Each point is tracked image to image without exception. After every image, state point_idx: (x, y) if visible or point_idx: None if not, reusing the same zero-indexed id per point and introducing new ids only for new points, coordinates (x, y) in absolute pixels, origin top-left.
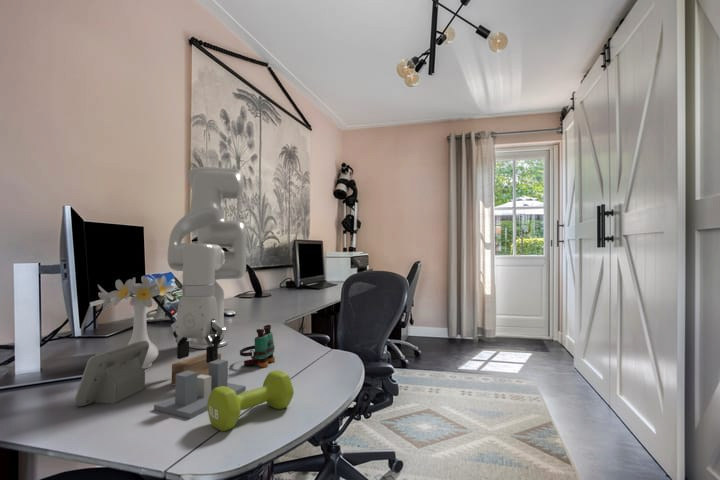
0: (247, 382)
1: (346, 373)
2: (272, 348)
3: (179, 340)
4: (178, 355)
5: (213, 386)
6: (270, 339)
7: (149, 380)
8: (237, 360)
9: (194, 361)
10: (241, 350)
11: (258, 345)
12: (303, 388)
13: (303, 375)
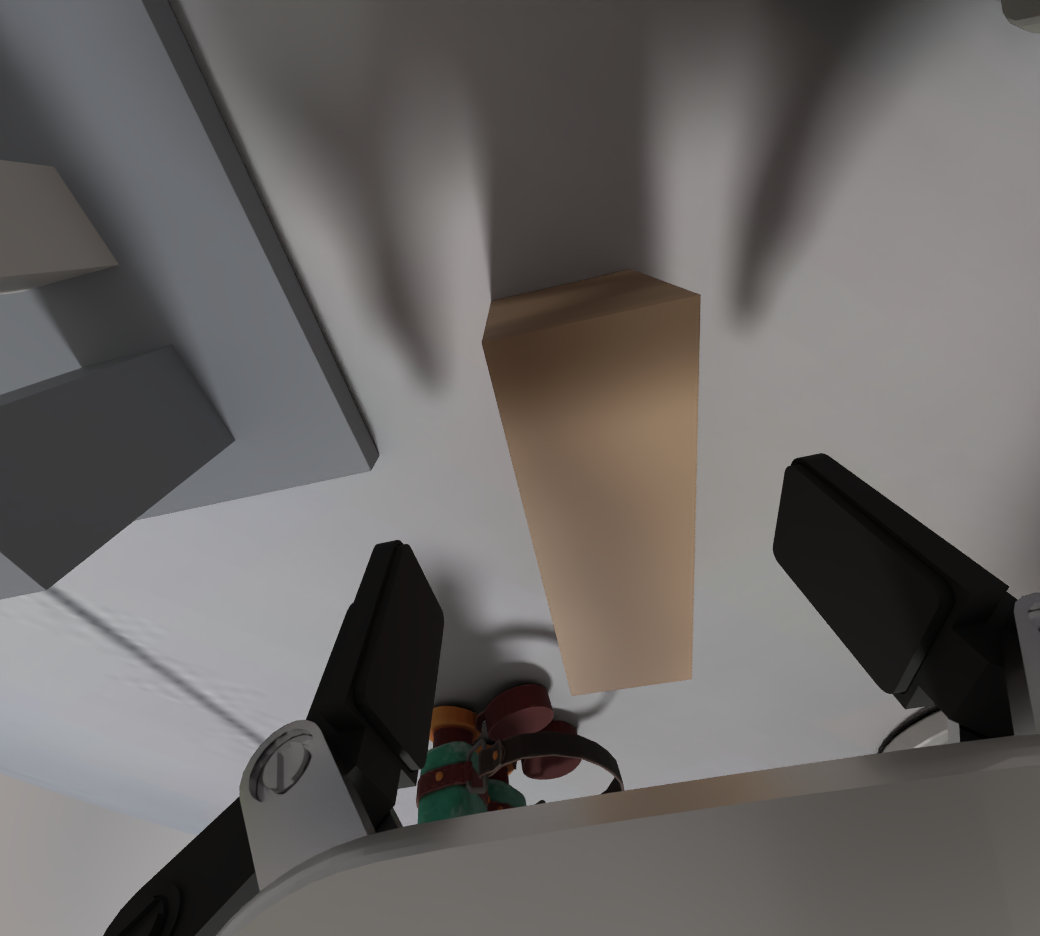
0: (269, 578)
1: (132, 796)
2: None
3: (1024, 647)
4: (825, 474)
5: (94, 366)
6: None
7: (900, 185)
8: (638, 698)
9: (558, 502)
10: (607, 766)
11: None
12: (15, 663)
13: (205, 731)
